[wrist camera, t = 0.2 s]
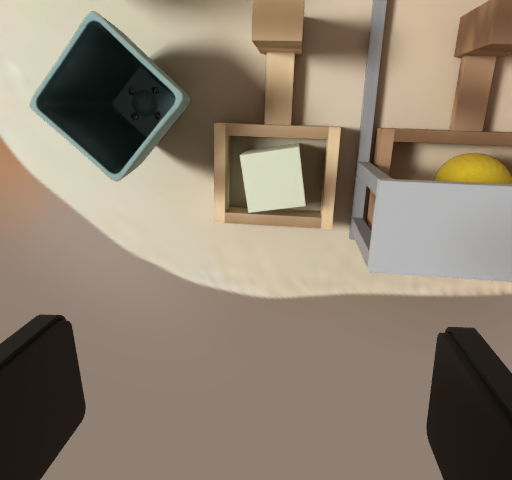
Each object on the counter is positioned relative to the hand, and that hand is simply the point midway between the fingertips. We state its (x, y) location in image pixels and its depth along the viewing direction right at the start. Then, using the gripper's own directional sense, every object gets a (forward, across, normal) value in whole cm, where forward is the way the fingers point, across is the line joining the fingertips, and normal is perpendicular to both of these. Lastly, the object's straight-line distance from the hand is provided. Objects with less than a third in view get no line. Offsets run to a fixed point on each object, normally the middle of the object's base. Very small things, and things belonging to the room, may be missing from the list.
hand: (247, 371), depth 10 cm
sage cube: (+31, +1, -1) cm, 31 cm away
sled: (+30, +1, -5) cm, 31 cm away
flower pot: (+31, +13, -8) cm, 34 cm away
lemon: (+31, -16, 0) cm, 35 cm away
